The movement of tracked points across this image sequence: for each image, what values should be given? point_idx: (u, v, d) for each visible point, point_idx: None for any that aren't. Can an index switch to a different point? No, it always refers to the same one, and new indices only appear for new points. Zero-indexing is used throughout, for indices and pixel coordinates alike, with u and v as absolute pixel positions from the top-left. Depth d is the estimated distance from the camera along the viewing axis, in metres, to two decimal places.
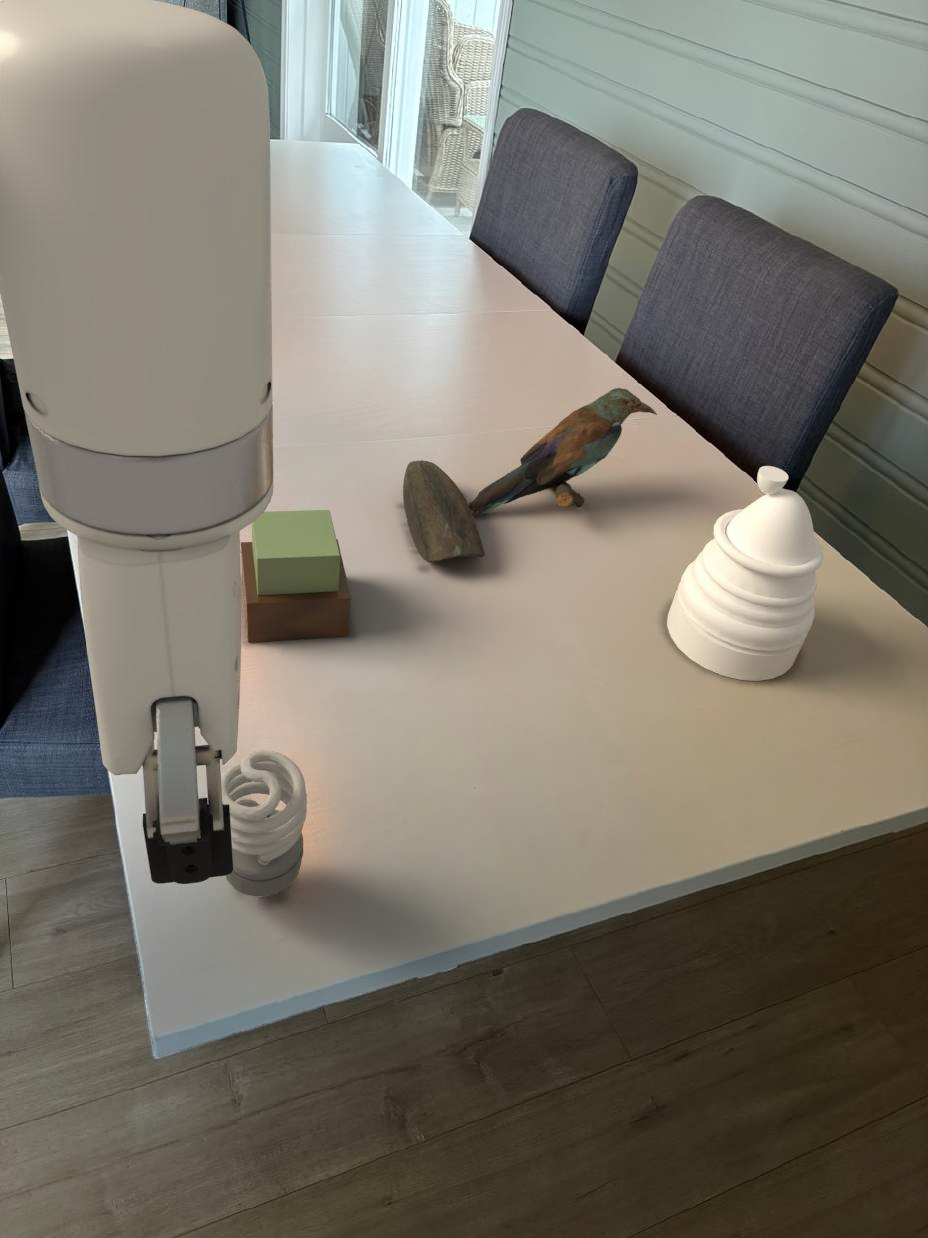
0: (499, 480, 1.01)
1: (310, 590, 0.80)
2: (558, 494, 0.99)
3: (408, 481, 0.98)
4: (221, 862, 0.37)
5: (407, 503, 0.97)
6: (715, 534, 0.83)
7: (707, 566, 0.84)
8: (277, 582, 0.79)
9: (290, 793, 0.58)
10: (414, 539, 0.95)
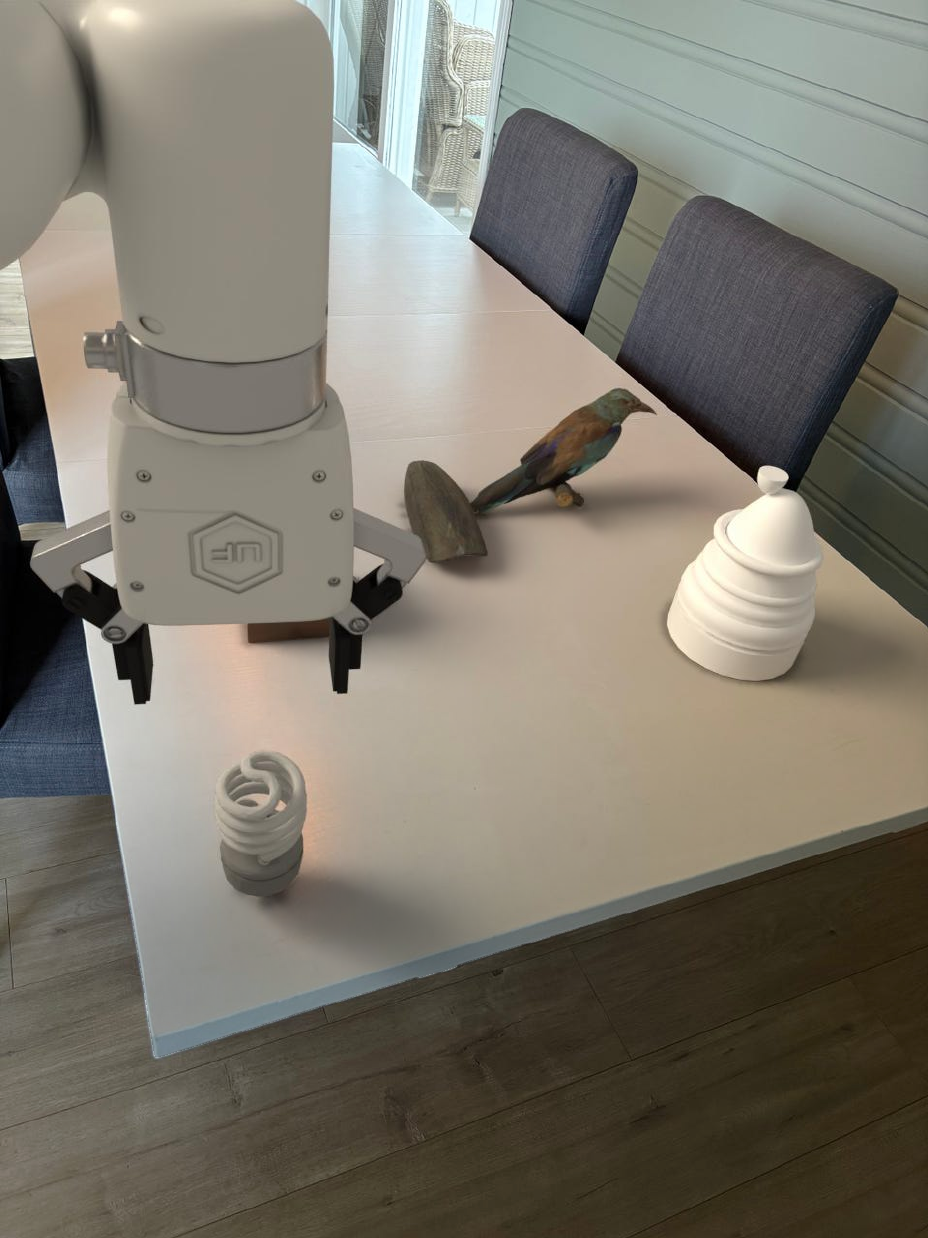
0: (499, 480, 1.01)
1: None
2: (558, 494, 0.99)
3: (409, 481, 0.98)
4: None
5: (409, 503, 0.97)
6: (715, 534, 0.83)
7: (708, 566, 0.84)
8: None
9: (290, 793, 0.58)
10: None
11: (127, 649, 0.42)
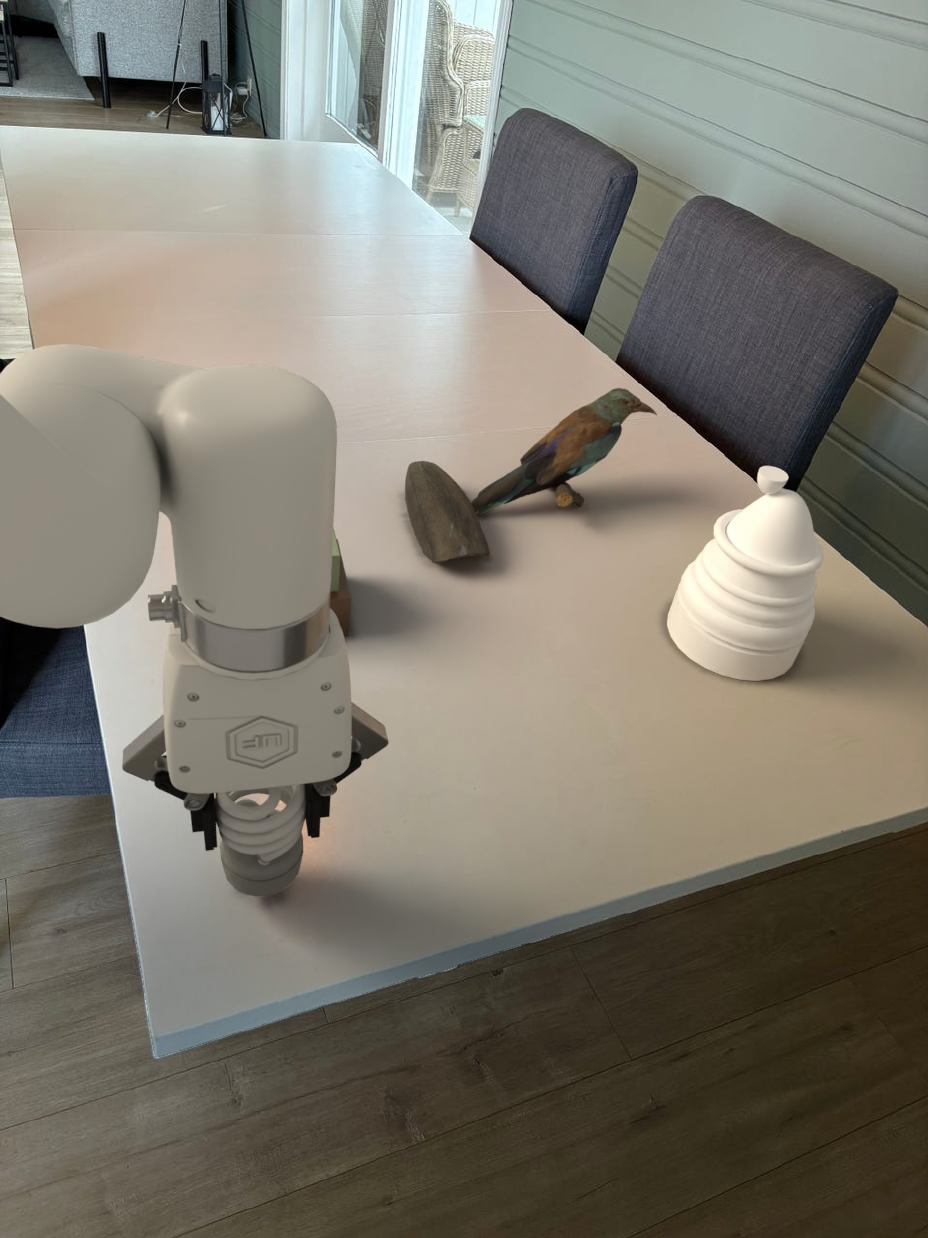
0: (499, 480, 1.01)
1: None
2: (558, 494, 0.99)
3: (410, 482, 0.98)
4: None
5: (410, 503, 0.97)
6: (715, 534, 0.83)
7: (707, 566, 0.84)
8: None
9: (290, 793, 0.58)
10: (419, 540, 0.95)
11: (203, 814, 0.54)
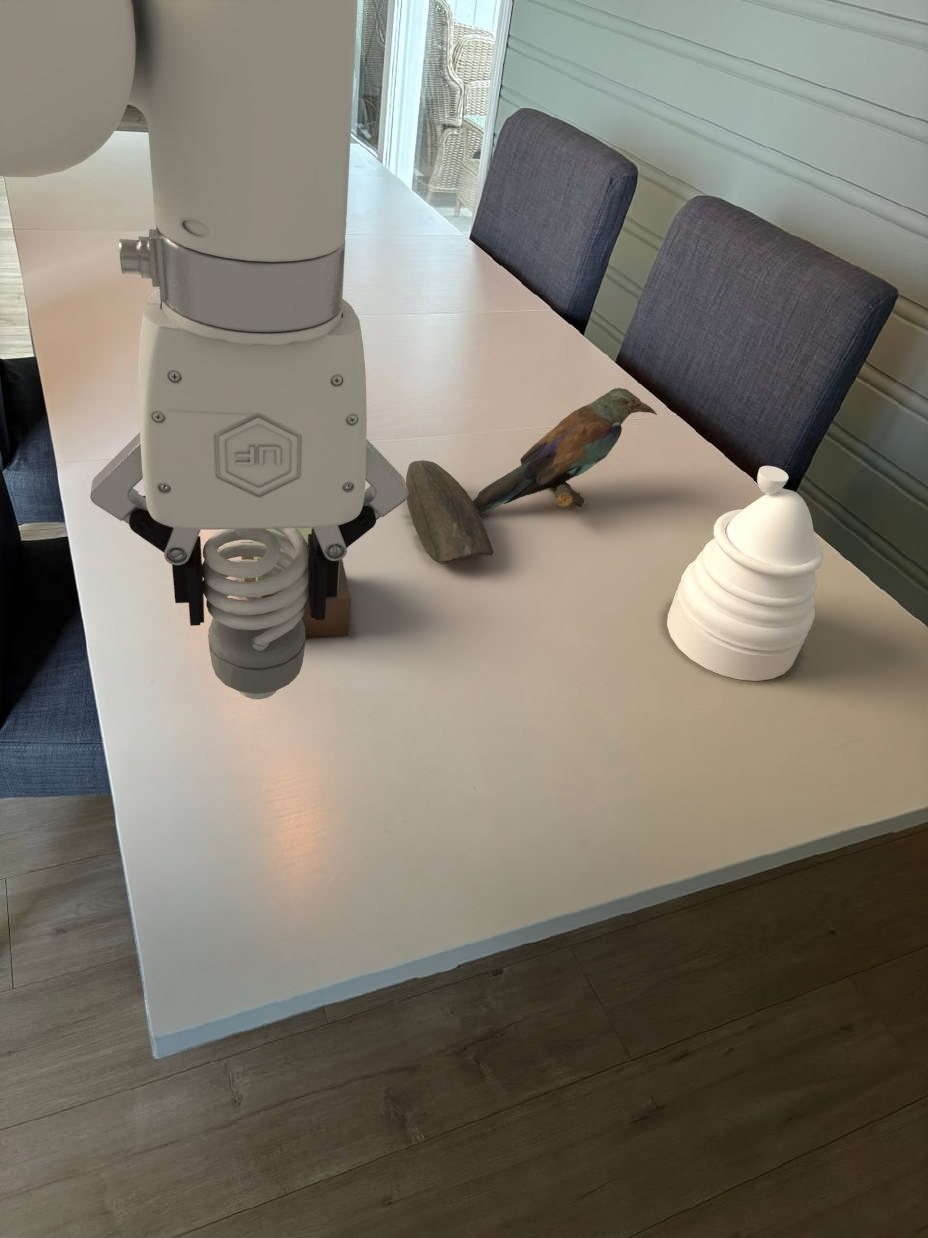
0: (499, 480, 1.01)
1: None
2: (558, 494, 0.99)
3: (412, 482, 0.98)
4: None
5: (412, 503, 0.97)
6: (715, 534, 0.83)
7: (708, 566, 0.84)
8: None
9: None
10: (422, 540, 0.95)
11: (188, 570, 0.45)
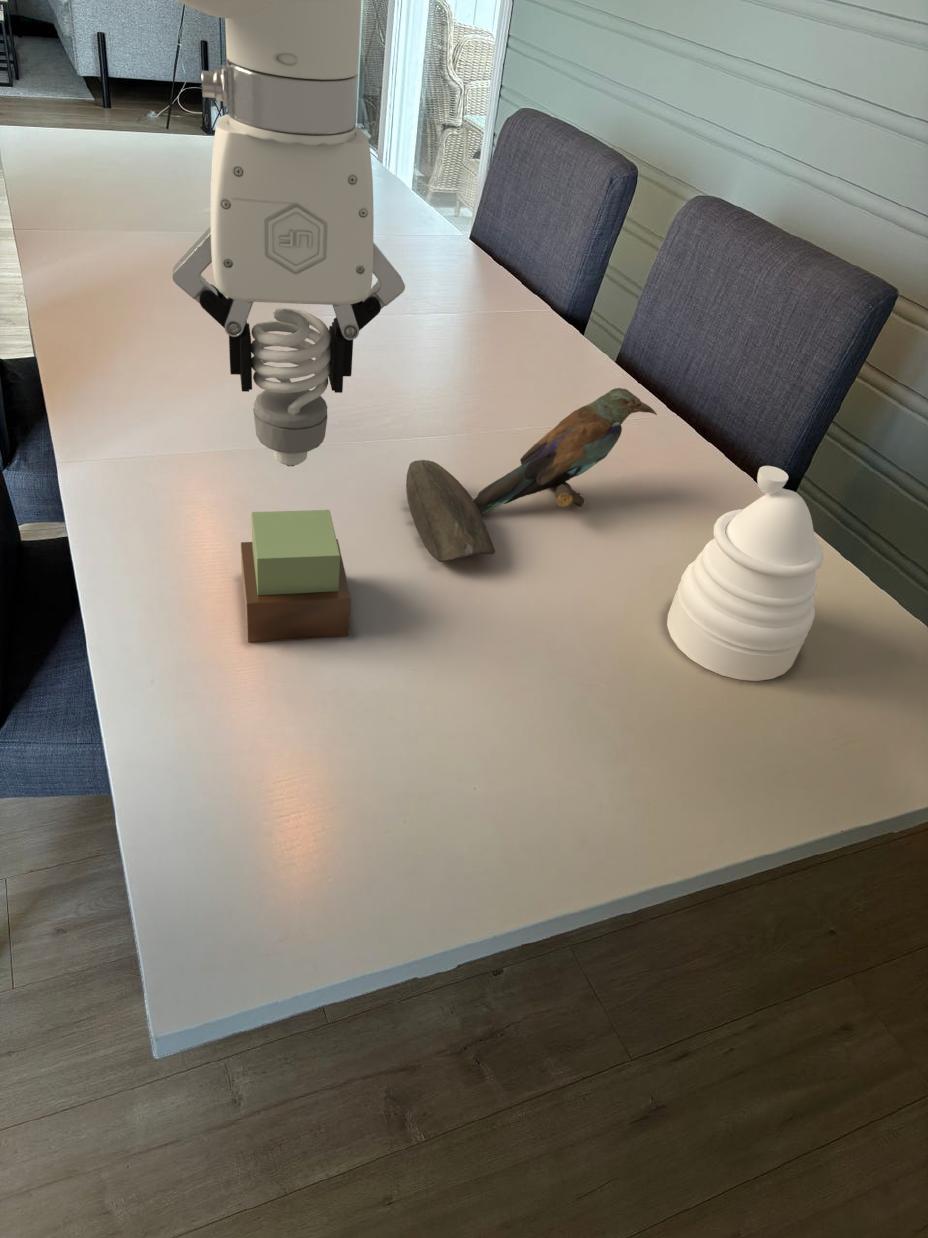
0: (499, 480, 1.01)
1: (310, 590, 0.80)
2: (558, 494, 0.99)
3: (413, 481, 0.98)
4: None
5: (413, 503, 0.97)
6: (715, 534, 0.83)
7: (707, 566, 0.84)
8: (277, 582, 0.79)
9: None
10: (423, 539, 0.95)
11: (242, 340, 0.61)
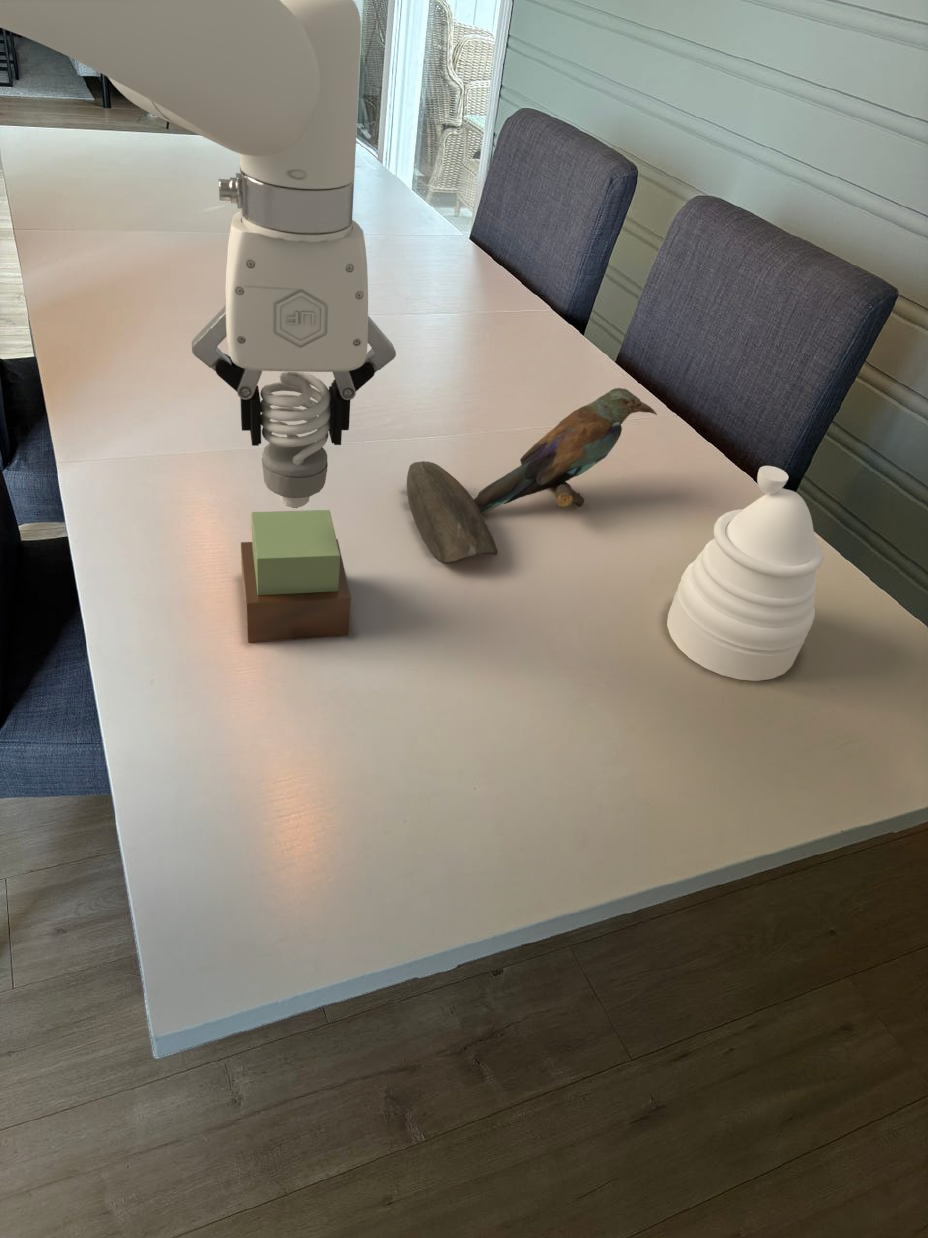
0: (499, 480, 1.01)
1: (310, 590, 0.80)
2: (558, 494, 0.99)
3: (413, 483, 0.98)
4: None
5: (414, 504, 0.98)
6: (715, 534, 0.83)
7: (708, 566, 0.84)
8: (277, 582, 0.79)
9: None
10: (425, 541, 0.95)
11: (252, 402, 0.69)
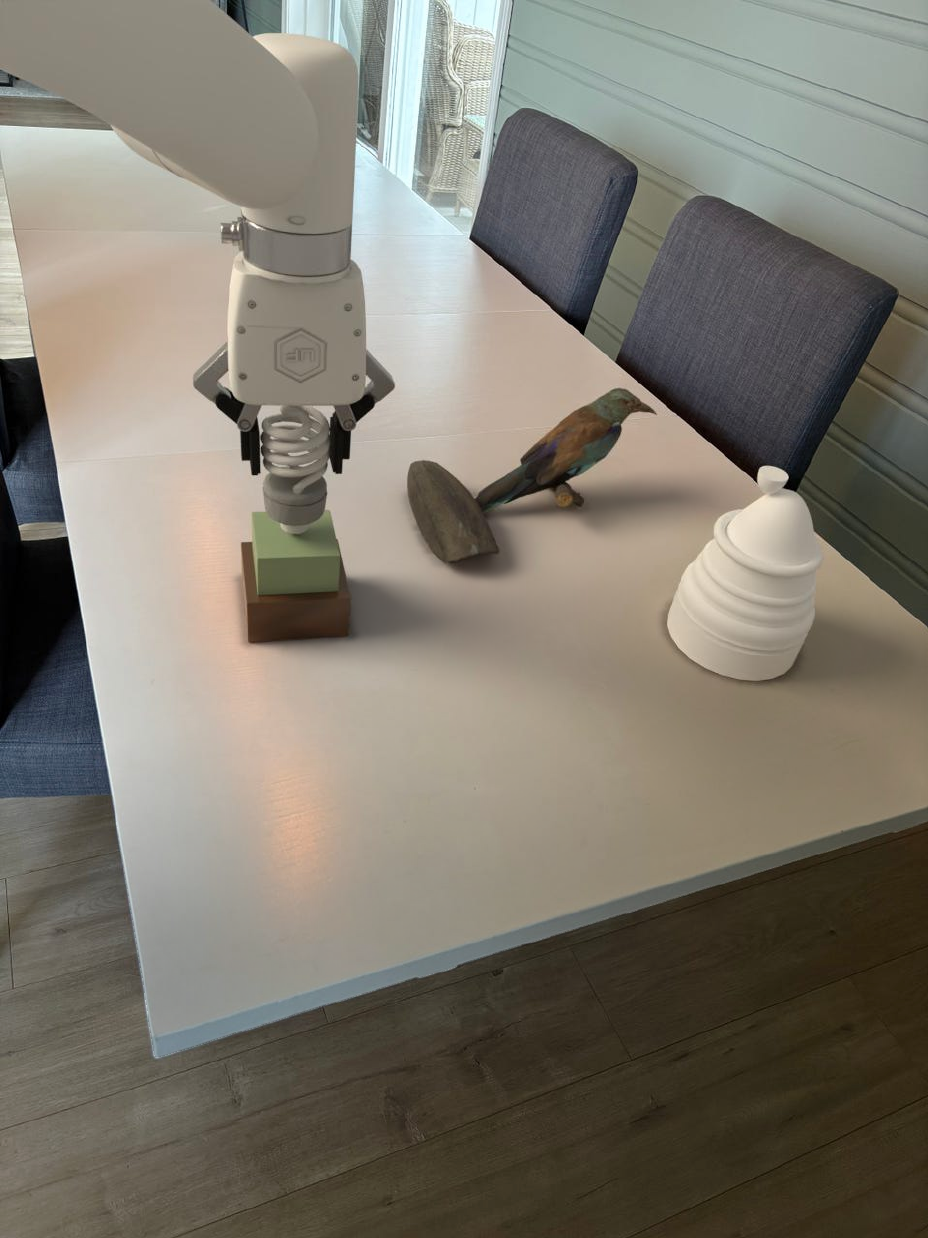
0: (499, 480, 1.01)
1: (310, 590, 0.80)
2: (558, 494, 0.99)
3: (414, 482, 0.98)
4: None
5: (415, 504, 0.98)
6: (715, 534, 0.83)
7: (708, 566, 0.84)
8: (277, 582, 0.79)
9: None
10: (427, 540, 0.95)
11: (251, 434, 0.71)
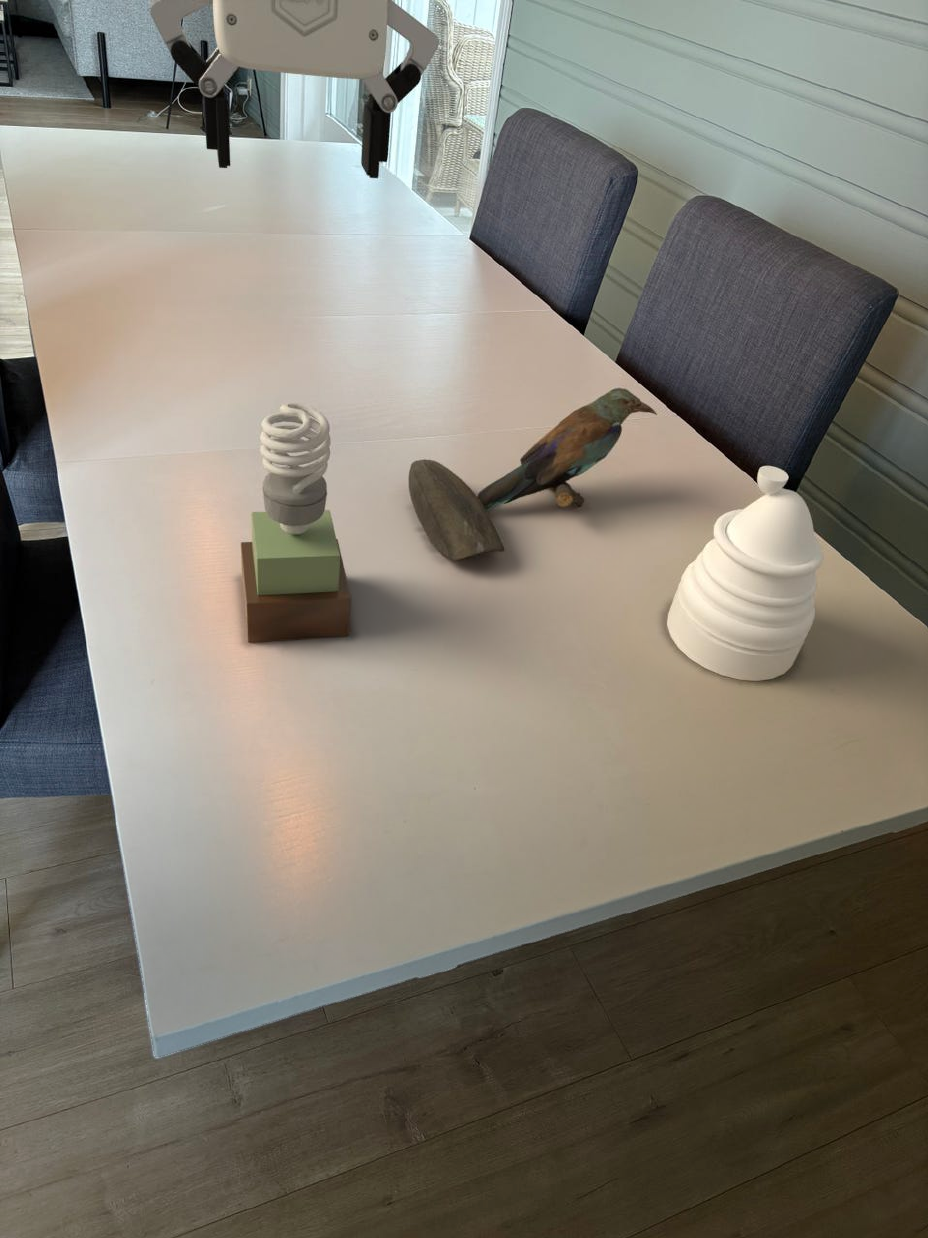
0: (499, 480, 1.01)
1: (310, 590, 0.80)
2: (558, 494, 0.99)
3: (417, 481, 0.98)
4: None
5: (418, 503, 0.98)
6: (715, 534, 0.83)
7: (708, 566, 0.84)
8: (277, 582, 0.79)
9: None
10: (431, 539, 0.95)
11: (218, 101, 0.56)
